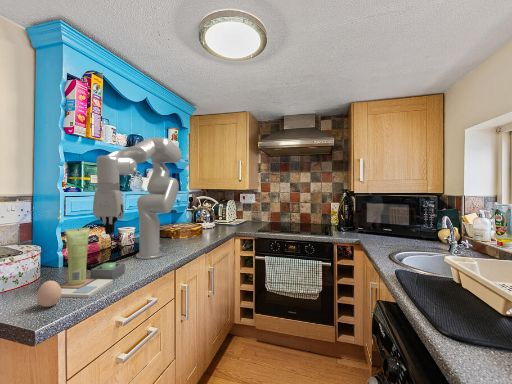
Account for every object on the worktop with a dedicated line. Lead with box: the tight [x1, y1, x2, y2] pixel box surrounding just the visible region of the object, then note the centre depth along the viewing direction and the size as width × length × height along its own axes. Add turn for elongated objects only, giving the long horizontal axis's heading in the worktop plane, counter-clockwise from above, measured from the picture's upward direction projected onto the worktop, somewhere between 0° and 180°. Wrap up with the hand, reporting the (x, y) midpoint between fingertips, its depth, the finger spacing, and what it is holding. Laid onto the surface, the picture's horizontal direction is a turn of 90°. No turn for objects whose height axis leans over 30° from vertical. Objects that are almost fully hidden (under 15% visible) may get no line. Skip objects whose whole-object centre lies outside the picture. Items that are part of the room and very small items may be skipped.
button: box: [101, 262, 117, 269], centre depth 99 cm, size 5×5×4 cm
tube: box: [64, 227, 91, 285], centre depth 89 cm, size 6×5×20 cm
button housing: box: [90, 262, 126, 281], centre depth 99 cm, size 8×8×4 cm
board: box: [59, 277, 114, 299], centre depth 87 cm, size 13×14×1 cm
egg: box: [36, 280, 62, 308], centre depth 75 cm, size 6×6×8 cm
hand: (109, 233), depth 99 cm, fingers closed
